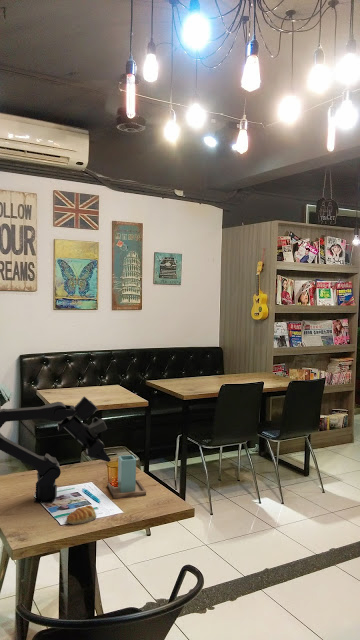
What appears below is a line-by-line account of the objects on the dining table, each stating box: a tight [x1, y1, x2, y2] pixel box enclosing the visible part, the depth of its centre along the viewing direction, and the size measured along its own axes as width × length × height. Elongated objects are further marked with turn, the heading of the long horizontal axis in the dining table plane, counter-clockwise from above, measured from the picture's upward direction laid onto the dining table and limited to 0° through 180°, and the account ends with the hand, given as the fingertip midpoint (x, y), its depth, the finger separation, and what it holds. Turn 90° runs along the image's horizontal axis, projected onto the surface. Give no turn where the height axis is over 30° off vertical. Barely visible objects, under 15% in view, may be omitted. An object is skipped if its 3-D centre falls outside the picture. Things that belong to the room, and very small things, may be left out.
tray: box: [107, 479, 147, 500], centre depth 183 cm, size 12×12×2 cm
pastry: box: [65, 504, 97, 525], centre depth 159 cm, size 9×7×4 cm
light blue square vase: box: [117, 454, 137, 493], centre depth 183 cm, size 6×6×12 cm
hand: (107, 456), depth 180 cm, fingers open, 9 cm apart
